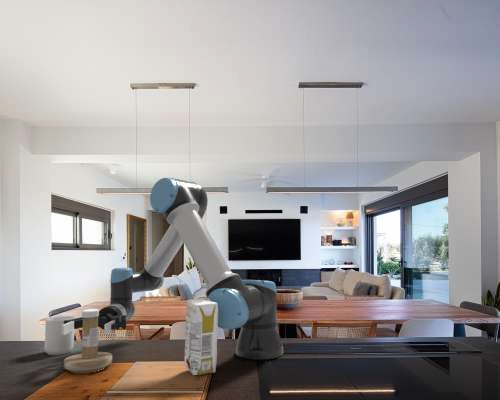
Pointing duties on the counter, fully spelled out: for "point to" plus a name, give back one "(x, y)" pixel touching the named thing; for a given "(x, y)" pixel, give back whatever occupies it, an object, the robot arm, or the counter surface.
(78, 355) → the disc
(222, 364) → the counter surface
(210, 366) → the juice carton
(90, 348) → the spice jar
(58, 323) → the mug
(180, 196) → the robot arm
